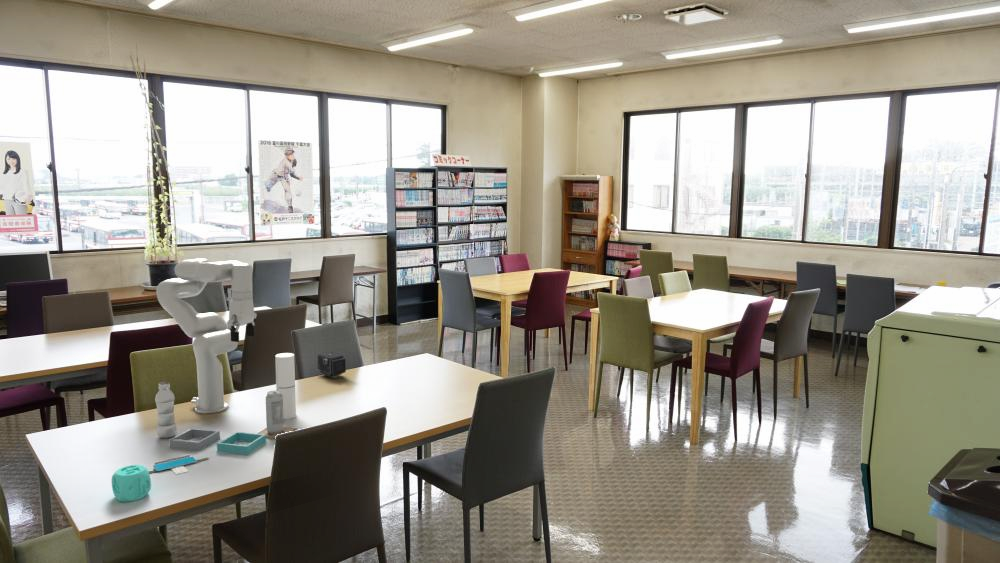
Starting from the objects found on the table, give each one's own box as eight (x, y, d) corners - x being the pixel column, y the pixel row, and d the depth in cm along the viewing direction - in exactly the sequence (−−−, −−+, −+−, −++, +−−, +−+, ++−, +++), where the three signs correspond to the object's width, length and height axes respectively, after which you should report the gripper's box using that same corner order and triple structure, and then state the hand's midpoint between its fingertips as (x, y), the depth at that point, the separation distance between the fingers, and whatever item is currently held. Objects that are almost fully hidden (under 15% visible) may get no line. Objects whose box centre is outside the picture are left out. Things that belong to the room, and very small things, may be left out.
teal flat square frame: (217, 451, 229) (216, 443, 229) (237, 439, 240) (237, 431, 240) (247, 455, 226) (246, 446, 226) (266, 442, 238) (265, 434, 237)
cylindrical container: (290, 419, 261) (288, 357, 258) (273, 418, 263) (271, 356, 260) (299, 413, 268) (297, 353, 265) (283, 412, 270) (281, 352, 266)
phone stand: (147, 483, 205) (147, 478, 205) (138, 470, 214) (137, 465, 214) (214, 466, 218) (214, 461, 218) (203, 455, 227) (203, 450, 227)
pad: (253, 437, 243) (253, 435, 243) (270, 426, 253) (270, 425, 253) (281, 439, 240) (281, 438, 240) (296, 429, 251) (296, 427, 251)
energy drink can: (279, 427, 251) (278, 389, 249) (286, 431, 247) (285, 392, 245) (264, 431, 247) (262, 392, 245) (271, 435, 243) (270, 396, 241)
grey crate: (169, 447, 232) (169, 439, 231) (191, 436, 243) (191, 428, 243) (198, 451, 229) (198, 442, 229) (219, 439, 241) (219, 431, 240)
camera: (315, 377, 324) (331, 381, 313) (313, 354, 323) (329, 357, 312) (334, 373, 331) (350, 376, 321) (332, 351, 331) (349, 353, 320)
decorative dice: (122, 504, 190) (120, 478, 189) (112, 496, 195) (110, 470, 194) (151, 495, 196) (150, 469, 195) (141, 487, 201) (139, 462, 200)
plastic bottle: (157, 441, 238) (154, 387, 235) (157, 435, 244) (153, 382, 241) (177, 438, 241) (174, 384, 238) (176, 432, 247) (173, 379, 244)
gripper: (246, 291, 265) (247, 332, 267) (219, 298, 248) (220, 342, 251) (263, 292, 263) (264, 334, 266) (237, 299, 247) (237, 344, 249)
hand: (242, 338), depth 258 cm, fingers open, 9 cm apart
